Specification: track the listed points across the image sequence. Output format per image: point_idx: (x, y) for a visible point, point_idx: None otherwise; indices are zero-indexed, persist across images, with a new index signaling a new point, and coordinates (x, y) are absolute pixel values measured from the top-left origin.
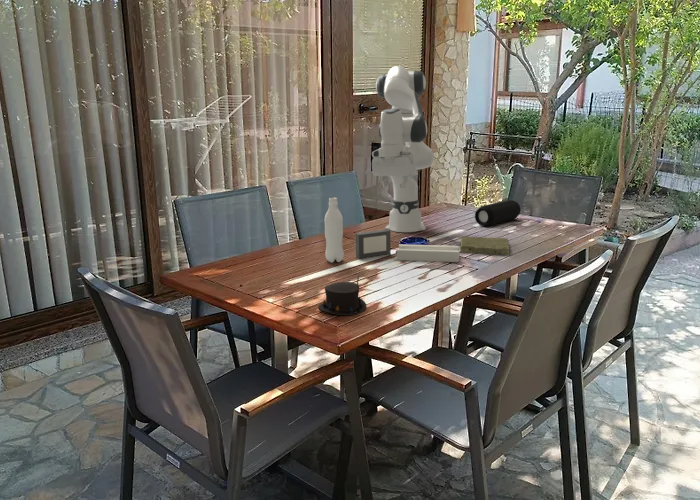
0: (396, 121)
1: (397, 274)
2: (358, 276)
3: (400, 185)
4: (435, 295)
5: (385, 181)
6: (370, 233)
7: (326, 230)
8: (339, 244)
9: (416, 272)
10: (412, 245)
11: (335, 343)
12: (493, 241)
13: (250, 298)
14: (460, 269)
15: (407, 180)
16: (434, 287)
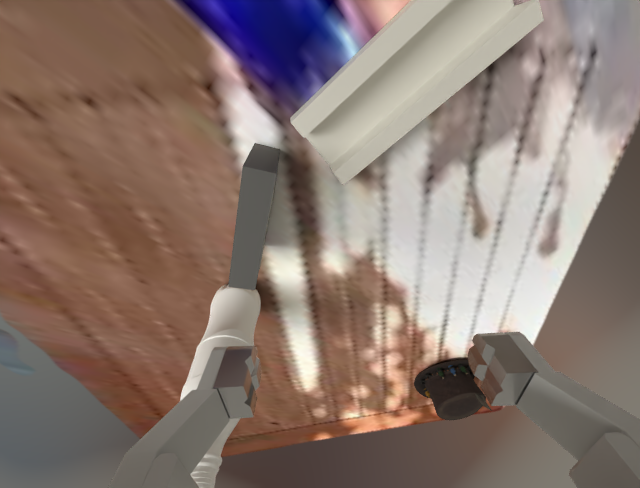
0: None
1: (420, 250)
2: (487, 407)
3: (486, 388)
4: (546, 272)
5: (204, 416)
6: (261, 253)
7: None
8: (253, 325)
9: (448, 210)
10: (340, 95)
11: (498, 409)
12: None
13: (329, 425)
14: (544, 98)
15: (620, 409)
16: (529, 247)
